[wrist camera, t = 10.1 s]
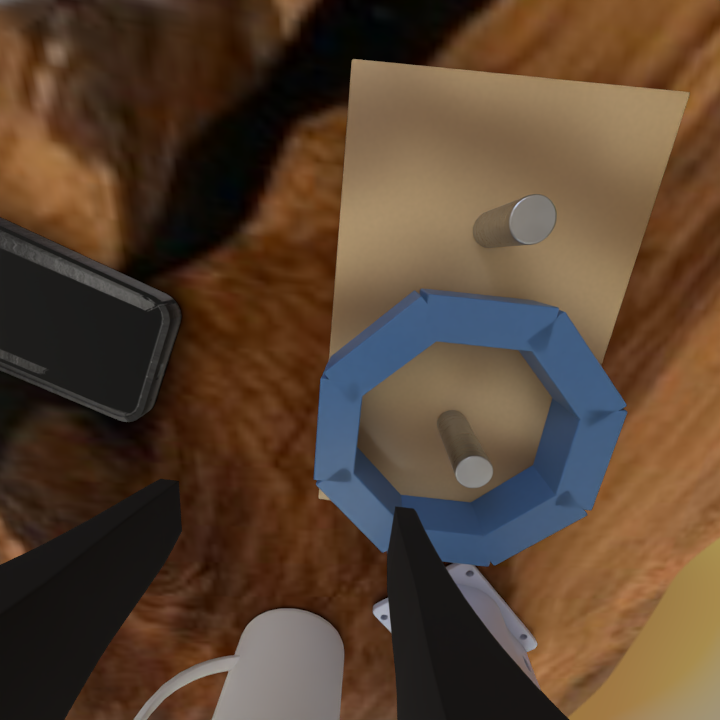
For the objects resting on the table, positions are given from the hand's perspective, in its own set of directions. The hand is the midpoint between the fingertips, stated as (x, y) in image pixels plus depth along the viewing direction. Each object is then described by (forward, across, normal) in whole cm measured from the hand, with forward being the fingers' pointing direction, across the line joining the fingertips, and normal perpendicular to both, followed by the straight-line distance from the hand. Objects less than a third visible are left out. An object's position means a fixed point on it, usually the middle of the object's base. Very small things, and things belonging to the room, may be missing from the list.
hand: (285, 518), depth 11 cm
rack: (+9, -7, -5) cm, 13 cm away
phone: (+9, +16, -4) cm, 19 cm away
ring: (+8, -7, 0) cm, 11 cm away
